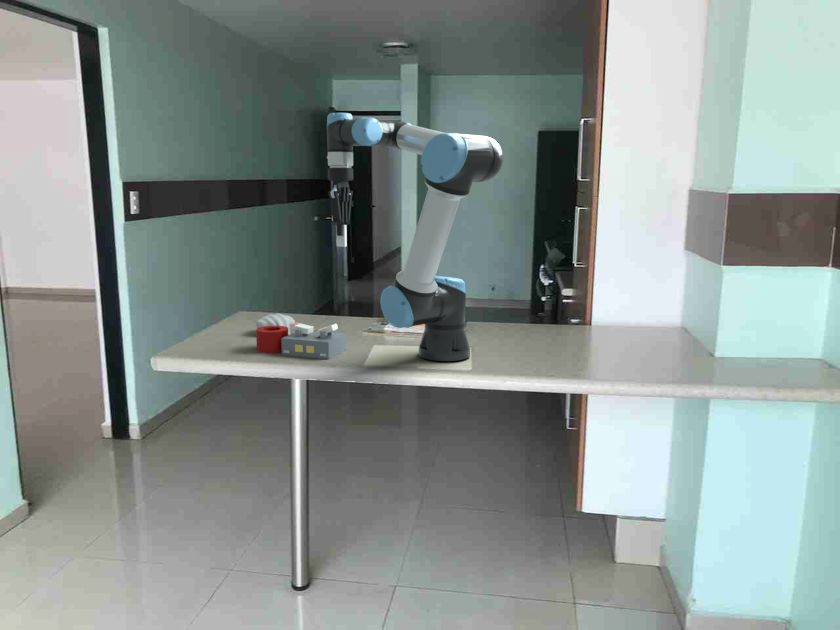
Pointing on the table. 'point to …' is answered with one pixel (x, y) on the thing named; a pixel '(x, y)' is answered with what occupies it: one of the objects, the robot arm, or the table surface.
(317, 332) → the rocker
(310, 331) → the rocker
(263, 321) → the shell shaped sculpture
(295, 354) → the panel
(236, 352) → the table surface
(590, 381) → the table surface
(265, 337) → the lever
